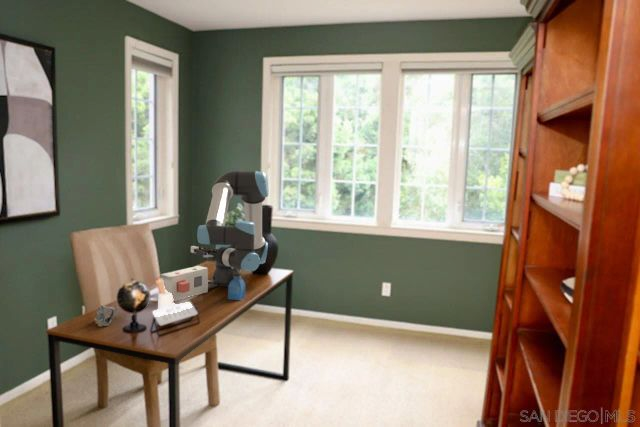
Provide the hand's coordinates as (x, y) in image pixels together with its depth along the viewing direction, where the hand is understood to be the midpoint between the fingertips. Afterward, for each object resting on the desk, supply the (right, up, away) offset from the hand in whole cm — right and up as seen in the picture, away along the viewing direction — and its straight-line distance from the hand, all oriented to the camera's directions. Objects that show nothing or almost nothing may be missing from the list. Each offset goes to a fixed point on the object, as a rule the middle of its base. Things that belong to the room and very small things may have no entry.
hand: (192, 249), depth 205 cm
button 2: (-6, -20, +6) cm, 22 cm away
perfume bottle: (+17, -24, +14) cm, 33 cm away
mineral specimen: (-27, -27, -22) cm, 44 cm away
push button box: (-5, -23, +17) cm, 29 cm away
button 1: (-4, -18, +17) cm, 25 cm away
